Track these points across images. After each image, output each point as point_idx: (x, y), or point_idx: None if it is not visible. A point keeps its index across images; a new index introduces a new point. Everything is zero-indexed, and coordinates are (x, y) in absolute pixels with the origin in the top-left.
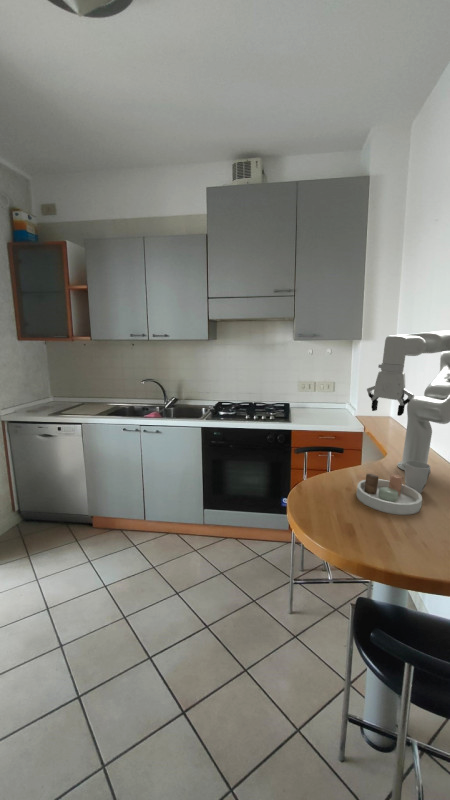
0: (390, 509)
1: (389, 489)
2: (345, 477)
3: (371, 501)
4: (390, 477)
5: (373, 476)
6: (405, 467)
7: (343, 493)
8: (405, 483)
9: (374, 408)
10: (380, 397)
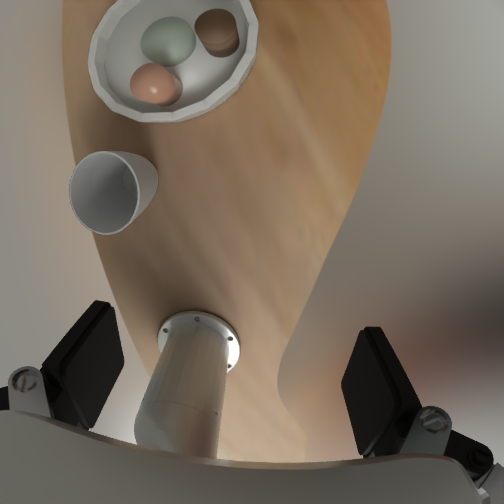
0: None
1: (166, 48)
2: (331, 117)
3: None
4: (166, 70)
5: (209, 21)
6: (139, 168)
7: (283, 4)
8: (155, 170)
9: (365, 351)
10: (340, 461)
